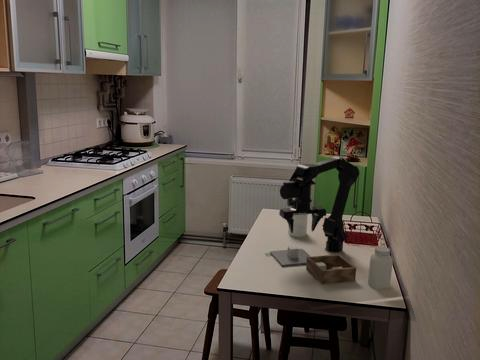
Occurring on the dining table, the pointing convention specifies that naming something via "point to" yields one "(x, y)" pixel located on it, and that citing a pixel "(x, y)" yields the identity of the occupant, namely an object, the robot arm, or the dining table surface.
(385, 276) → the pill bottle
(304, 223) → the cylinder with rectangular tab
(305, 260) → the lid
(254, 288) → the dining table surface
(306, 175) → the robot arm
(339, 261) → the storage box
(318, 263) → the cream cube
